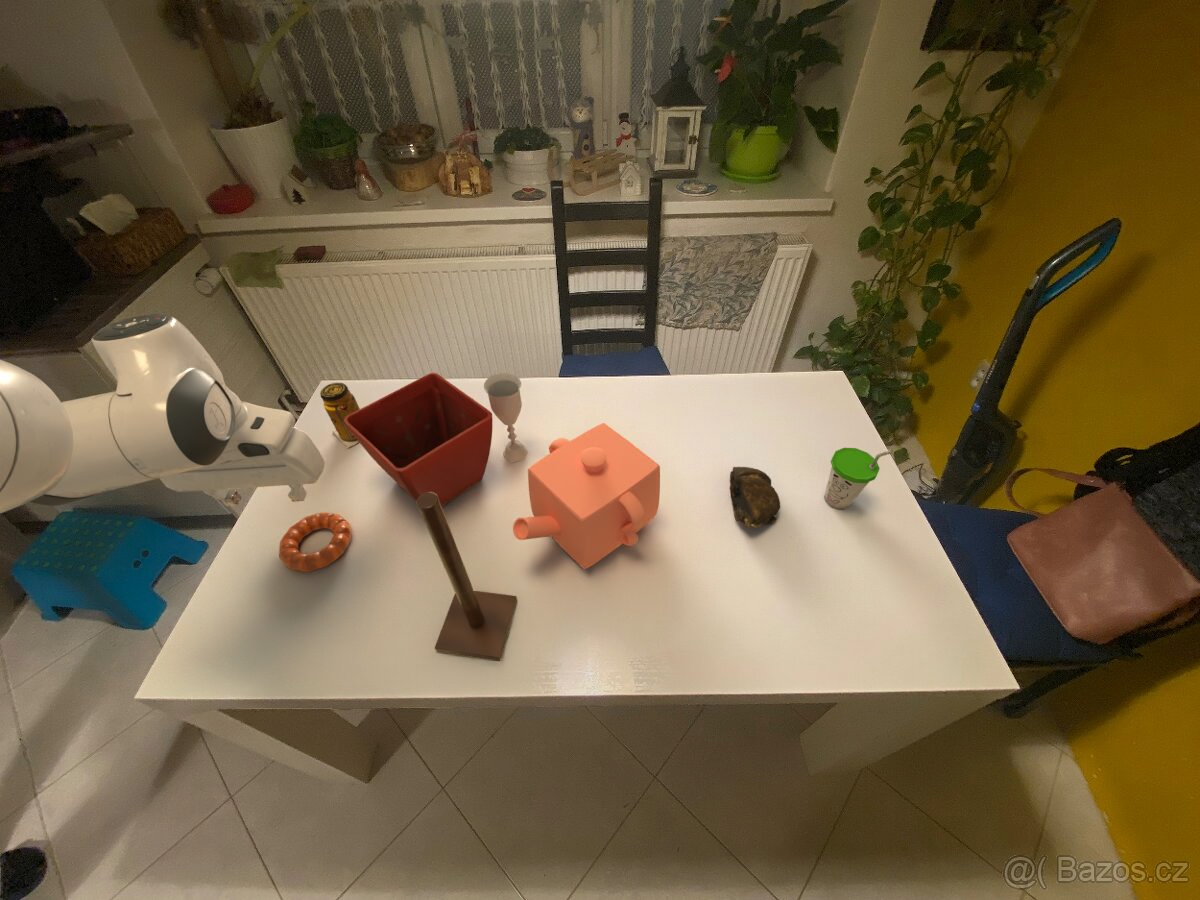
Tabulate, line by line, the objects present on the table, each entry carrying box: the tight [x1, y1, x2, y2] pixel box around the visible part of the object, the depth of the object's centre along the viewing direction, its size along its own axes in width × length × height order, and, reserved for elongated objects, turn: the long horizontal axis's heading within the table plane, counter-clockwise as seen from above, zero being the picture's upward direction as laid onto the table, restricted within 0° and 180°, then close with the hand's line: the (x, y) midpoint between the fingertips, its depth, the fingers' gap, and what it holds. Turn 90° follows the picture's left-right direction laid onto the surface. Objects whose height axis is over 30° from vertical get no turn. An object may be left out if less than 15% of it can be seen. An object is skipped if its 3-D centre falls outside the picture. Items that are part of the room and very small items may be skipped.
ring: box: [278, 511, 352, 572], centre depth 90 cm, size 12×12×3 cm
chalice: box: [483, 372, 528, 463], centre depth 100 cm, size 7×7×18 cm
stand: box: [415, 492, 518, 662], centre depth 69 cm, size 10×10×32 cm
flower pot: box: [344, 372, 493, 507], centre depth 95 cm, size 19×19×17 cm
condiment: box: [319, 382, 361, 449], centre depth 107 cm, size 7×8×12 cm
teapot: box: [512, 422, 661, 570], centre depth 85 cm, size 25×23×18 cm
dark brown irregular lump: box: [729, 466, 781, 529], centre depth 94 cm, size 16×9×7 cm, turn 178°
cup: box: [823, 447, 893, 510], centre depth 91 cm, size 8×8×15 cm
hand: (267, 500), depth 75 cm, fingers open, 8 cm apart
